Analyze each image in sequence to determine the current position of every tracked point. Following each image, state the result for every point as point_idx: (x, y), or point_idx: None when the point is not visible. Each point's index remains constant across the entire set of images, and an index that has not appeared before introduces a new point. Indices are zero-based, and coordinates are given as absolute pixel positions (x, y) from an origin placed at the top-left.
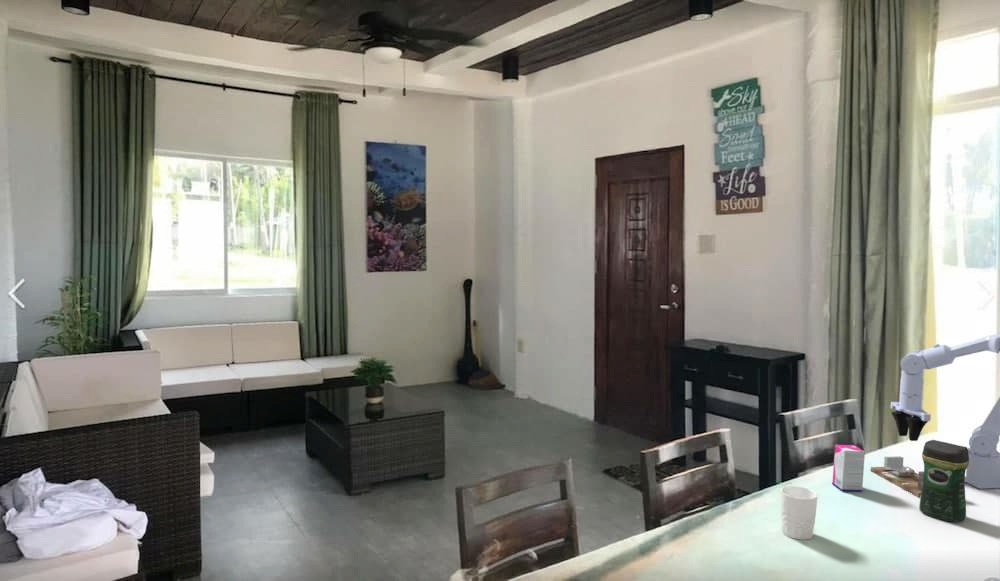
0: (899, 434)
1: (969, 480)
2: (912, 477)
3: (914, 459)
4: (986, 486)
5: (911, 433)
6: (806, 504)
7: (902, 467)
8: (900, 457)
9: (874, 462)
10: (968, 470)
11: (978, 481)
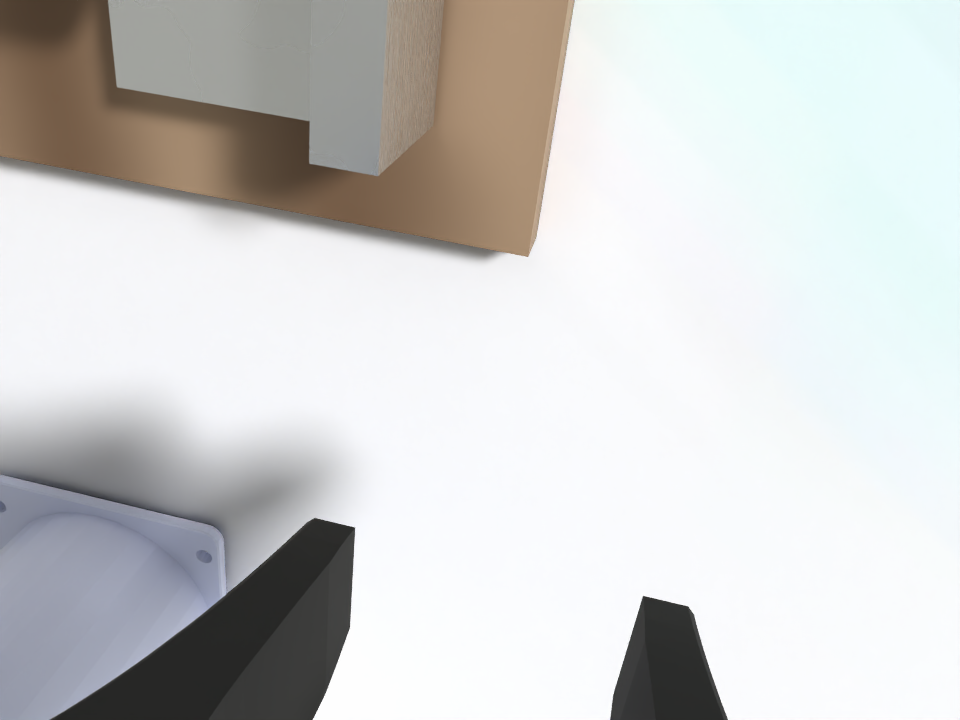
0: (663, 615)
1: (90, 525)
2: None
3: (783, 638)
4: (5, 541)
5: (203, 620)
6: None
7: (294, 61)
8: (334, 131)
9: (919, 110)
10: (52, 594)
11: (15, 539)
